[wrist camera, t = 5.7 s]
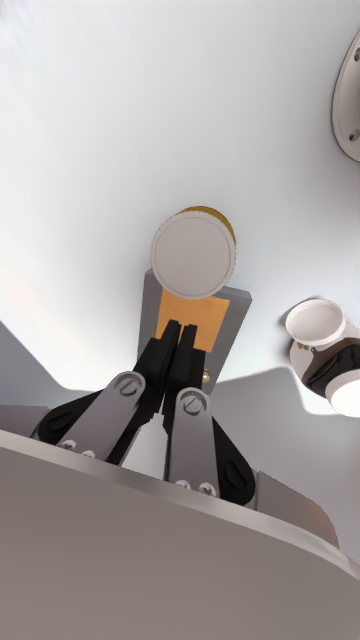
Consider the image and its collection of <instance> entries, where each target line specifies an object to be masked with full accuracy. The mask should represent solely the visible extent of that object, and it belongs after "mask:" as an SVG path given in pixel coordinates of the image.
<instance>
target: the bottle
mask: <svg viewBox="0 0 360 640" xmlns="http://www.w3.org/2000/svg"><path fill="white" fill-rule="evenodd" d="M235 245H236V241H235V236H234V233H233V229H232V227H231V225H230V224H229V222H228V221H227V219H226V218H225V217H224V216H223V215H222V214H220V213H219V212H218V211H216V210H214V209H212V208H208V207H204V206H197V207H190V208H187V209H185V210H183V211H181V212H179V213H177V214H176V215H174V217H170V219H169V220H166V222H165V223H164V224H162V226H161V228H159V230H158V232H157V233H156V235H155V237H154V240H153V242H152V247H151V264H152V269H153V272H154V274H155V276H156V278H157V280H158V281H159V283H160V284H161V285H162V286H163V287H164V288H165V289H166V290H167V291H168V292H170V293H171V294H173V295H175V296H177V297H180V298H183V299H189V300H197V299H203V298H206V297H209V296H211V295H213V294H215V293H216V292H218V291H219V290H220V289H221V288H222V287H223V286H224V285H225V284H226V283H227V282H228V280H229V278H230V276H231V274H232V271H233V270H234V265H235V260H236V257H235V255H236V252H235V249H236V248H235Z"/></svg>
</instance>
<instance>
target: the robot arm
mask: <svg viewBox="0 0 360 640" xmlns="http://www.w3.org/2000/svg"><path fill="white" fill-rule="evenodd" d="M354 57H355V58H356V61H355V60H354ZM332 120H333V127H334V133H335V136H336V138H337V141H338V143H339V145H340V146H341V148H342V149H343V150H344V152H345V153H346V154H347V155H349V156H350V157H351V158H353V159H354V160H357V161H359V162H360V31H359V32H358V34H357V36H356V38H355V39H354V41H353V43H352V45H351V47H350V49H349V51H348V54H347V56H346V58H345V60H344V62H343V65H342V68H341V71H340V74H339V77H338V80H337V83H336V88H335V93H334V99H333V112H332ZM349 136H351V140H349ZM181 327H182V324H179V321H176V320H172V319H170V320H169V322H168V324H167V326H166V328H165V330H164V332H163V334H162V336H161V338H160V339H157V338H153V337H151V338H150V340H149V342H148V343H147V345H146V347H145V349H144V351H143V352H142V354H141V356H140V358H139V360H138V362H137V363H136V365H135V367H134V369H133V371H126V372H122V373H120V374H118V375H117V376H116V377H115V378H114V379H113V380H112V381H111V382H110V383H109V384H108V386H107V387H106V388H105V389H102V390H100V391H97V392H95V393H92V394H90V395H87V396H84V397H82V398H79V399H76V400H74V401H71V402H69V403H66V404H63V405H61V406H58V407H56V408H54V409H49V408H48V407H45V406H19V405H0V640H360V566H359V565H358V564H357V563H356V562H355V561H354V560H352V559H351V558H350V557H348V556H347V555H346V554H344V553H343V552H341V551H340V550H339V544H338V539H337V535H336V532H335V529H334V526H333V524H332V523H331V521H330V519H329V517H328V516H327V514H326V513H325V512H324V511H323V510H322V509H321V507H320V506H319V505H317V504H316V503H314V502H313V501H312V500H310V499H309V498H307V497H305V496H303V495H302V494H300V493H298V492H296V491H294V490H293V489H291V488H289V487H288V486H286V485H284V484H282V483H280V482H279V481H277V480H276V479H274V478H272V477H270V476H269V475H267V474H265V473H263V472H261V471H259V472H257V471H255V470H253V469H252V468H251V467H250V466H249V464H248V462H247V461H246V460H245V459H244V457H243V456H242V455H241V453H240V452H239V451H238V449H237V448H236V447H235V445H234V444H233V443H232V441H231V440H230V439H229V438H228V436H227V435H226V433H225V432H224V431H223V429H222V428H221V427H220V426H219V424H218V423H217V422H216V420H215V419H214V418H213V416H212V415H211V405H210V401H209V399H208V397H207V395H206V394H205V393H204V392H203V391H201V390H202V381H203V372H204V364H205V355H206V351H204V350H200V349H196V348H193V347H194V342H195V337H196V332H197V328H198V326H197V325H193V324H189V325H188V326H187V325H185V326H184V329H183V332H182V335H181V338H180V341H179V337H180V332H181ZM178 343H179V344H178ZM164 394H165V397H164ZM163 397H164V403H163V408H162V415H164V421H163V427H164V429H165V431H166V433H167V435H168V436H167V445H166V455H165V465H164V475H163V480H160V479H157V478H154V477H150V476H147V475H144V474H141V473H138V472H135V471H132V470H129V469H126V468H122V467H121V466H122V464H123V462H124V460H125V458H126V456H127V454H128V453H129V451H130V449H131V447H132V445H133V443H134V441H135V439H136V438H137V435H138V434H139V432H140V430H141V427H142V425H144V424H146V423H148V422H149V421H150V419H152V418H153V415H154V413H159V410H160V407H161V403H162V400H163Z"/></svg>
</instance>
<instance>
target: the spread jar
mask: <svg viewBox="0 0 360 640" xmlns="http://www.w3.org/2000/svg"><path fill="white" fill-rule="evenodd" d="M285 325H286V329H287V332H288V333H289V334H290V335H291V336H292V338H294V339H293V342H292V345H291V348H290V360H291V363H292V366H293V368H294V370H295V372H296V374H297V375H298V377H299V379H300V380H301V382H302V383H303V384H304V385H305V386H306V387H307V388H308V389H309V390H310V391H312V392H314V393H315V394H317V395H319V396H321V397H323V398H325V399H328V401H329V403H330V404H331V406H332V407H333V409H334V410H335V411H337V412H338V413H340V414H343V415H346V416H350V417H360V329H358V328H356V327H355V326H353V325H350V324H348V323H346V318H345V315H344V313H343V312H342V310H341V309H340V307H339V306H338V305H337V304H335V303H334V302H332V301H329V300H324V299H313V300H308V301H305V302H303V303H301V304H299V305H297V306H296V307H295V308H293V309H292V310H291V311H290V313H289V314H288V316H287V318H286V323H285Z"/></svg>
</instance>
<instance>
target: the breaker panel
mask: <svg viewBox="0 0 360 640" xmlns="http://www.w3.org/2000/svg"><path fill="white" fill-rule="evenodd" d="M251 302H252V298H251V295H250V293H249V292H246V291H242V290H238V289H234V288H230V287H226V286H223V287H222V288H221V289H220V290H219V291H218V292H216V293H215V294H213V295H211V296H209V297H206V298H203V299H197V300H189V299H183V298H180V297H177V296H175V295H173V294H171V293H170V292H168V291H167V290H166V289H165V288H164V287H163V286H162V285H161V284H160V283H159V281H158V280H157V278H156V276H155V274H154V272H153V269H152V268H151V269H150V270H149V271H147V272H146V273H145V280H144V291H143V302H142V312H141V323H140V334H139V345H138V356H137V362H138V360H139V358H140V356H141V354H142V352H143V351H144V349H145V347H146V345H147V343H148V342H149V340H150V338H151V337H153V338H157V339H160V338H161V336H162V334H163V332H164V330H165V328H166V326H167V324H168V322H169V320H170V319H172V320H176V321H179V324H182V327H181V332H180V337H179V341H180V338H181V335H182V332H183V329H184V326H185V325H187V326H188V325H189V324H193V325H197V326H198V328H197V332H196V337H195V342H194V347H193V348H196V349H200V350H204V351H206V355H205V364H204V372H203V381H202V390H201V391H203V392H204V393H205V394H207V395H210V394H211V392H212V390H213V388H214V385H215V383H216V381H217V379H218V376H219V374H220V372H221V370H222V367H223V365H224V363H225V361H226V358H227V356H228V354H229V352H230V349H231V347H232V345H233V343H234V340H235V338H236V336H237V333H238V331H239V329H240V327H241V324H242V322H243V320H244V318H245V315H246V313H247V311H248V309H249V306H250V304H251ZM178 344H179V343H178Z"/></svg>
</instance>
